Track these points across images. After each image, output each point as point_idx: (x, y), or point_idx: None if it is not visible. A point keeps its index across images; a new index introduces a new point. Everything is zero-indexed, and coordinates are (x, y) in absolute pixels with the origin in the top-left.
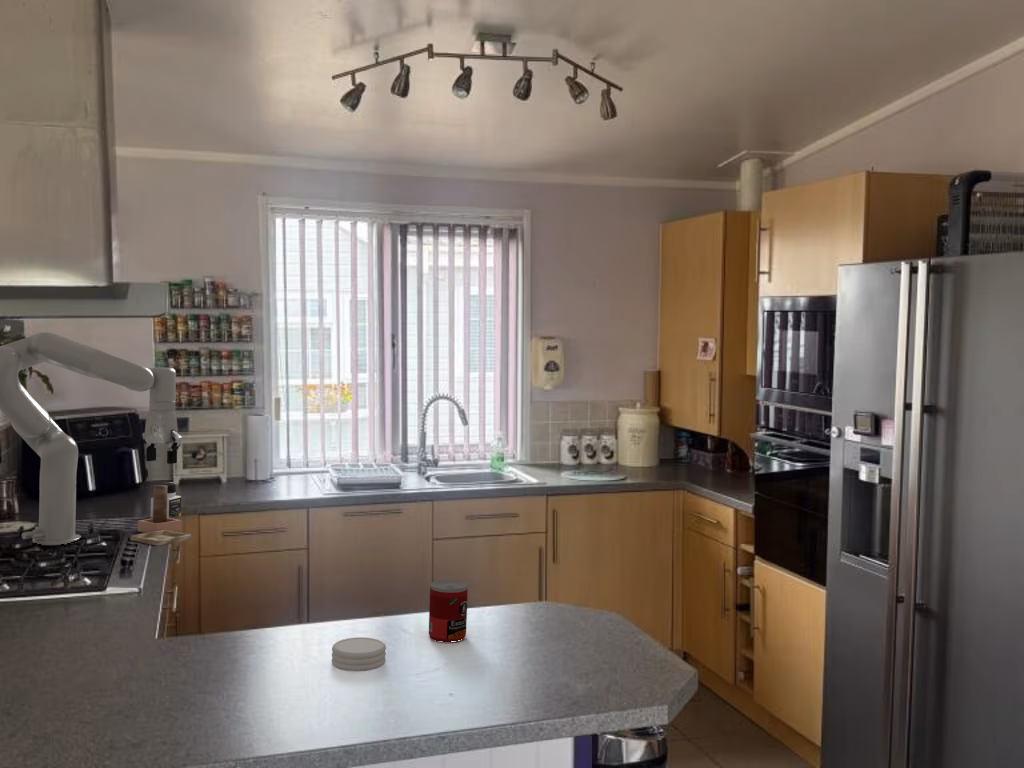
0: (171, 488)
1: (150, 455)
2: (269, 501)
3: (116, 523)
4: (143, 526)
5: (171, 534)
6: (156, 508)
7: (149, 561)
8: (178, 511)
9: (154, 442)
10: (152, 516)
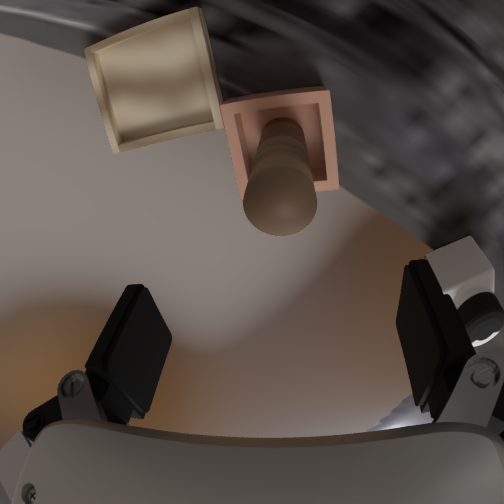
0: None
1: (416, 317)
2: (392, 418)
3: (489, 141)
4: (295, 91)
5: (183, 127)
6: (268, 139)
7: (8, 13)
8: None
9: (222, 451)
10: (467, 239)
